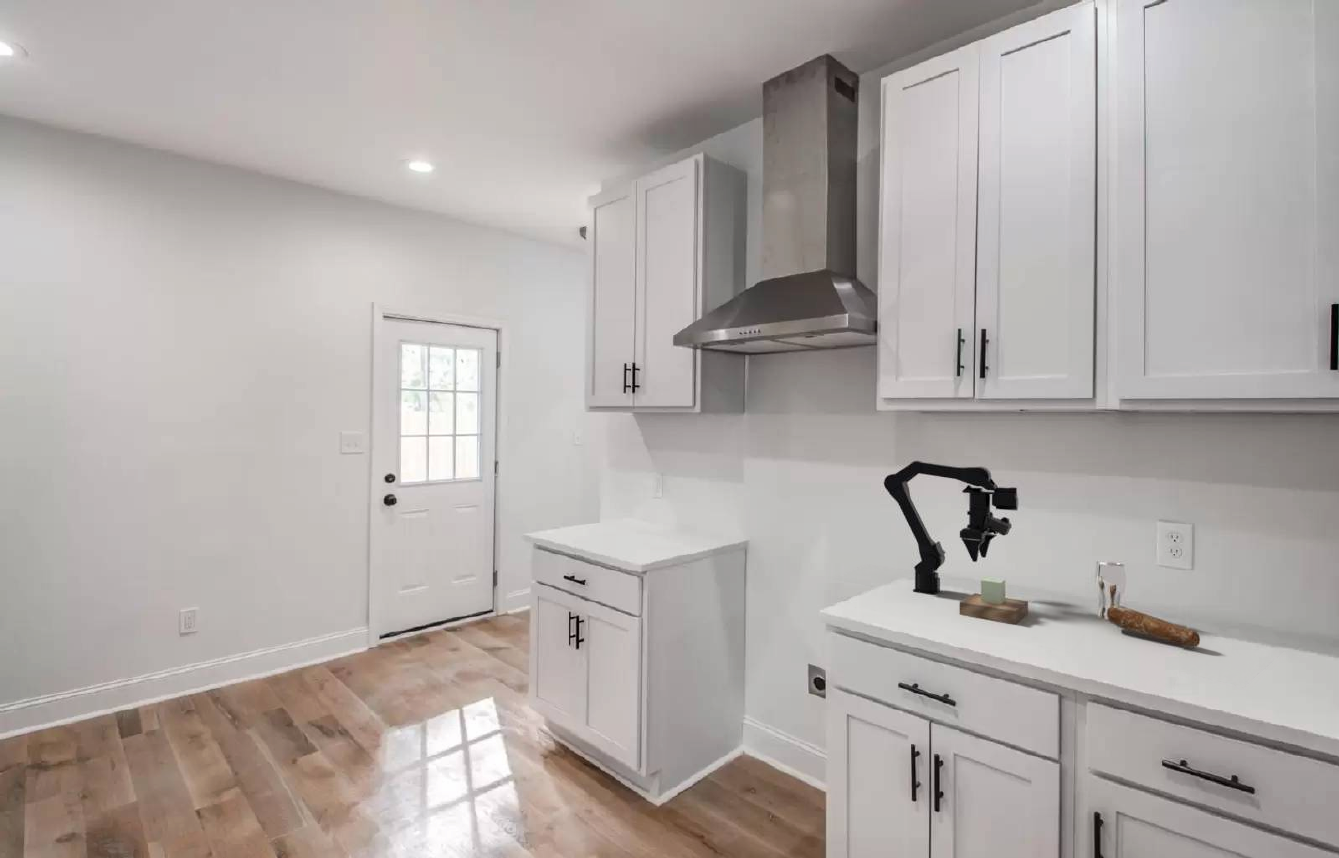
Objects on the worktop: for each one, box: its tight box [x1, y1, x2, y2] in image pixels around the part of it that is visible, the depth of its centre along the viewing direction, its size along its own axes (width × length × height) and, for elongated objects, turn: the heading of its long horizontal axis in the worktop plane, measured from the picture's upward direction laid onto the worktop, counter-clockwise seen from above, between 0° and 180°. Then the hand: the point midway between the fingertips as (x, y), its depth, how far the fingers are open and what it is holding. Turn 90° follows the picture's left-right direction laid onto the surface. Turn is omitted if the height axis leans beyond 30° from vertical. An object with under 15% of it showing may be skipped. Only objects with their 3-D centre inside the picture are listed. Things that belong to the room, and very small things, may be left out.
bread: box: [1107, 604, 1201, 647], centre depth 160 cm, size 6×19×6 cm, turn 33°
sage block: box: [980, 576, 1006, 605], centre depth 181 cm, size 5×5×6 cm
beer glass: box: [1094, 561, 1127, 621], centre depth 178 cm, size 7×7×15 cm
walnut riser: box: [959, 592, 1029, 625], centre depth 181 cm, size 14×14×4 cm
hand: (979, 559), depth 198 cm, fingers open, 9 cm apart
